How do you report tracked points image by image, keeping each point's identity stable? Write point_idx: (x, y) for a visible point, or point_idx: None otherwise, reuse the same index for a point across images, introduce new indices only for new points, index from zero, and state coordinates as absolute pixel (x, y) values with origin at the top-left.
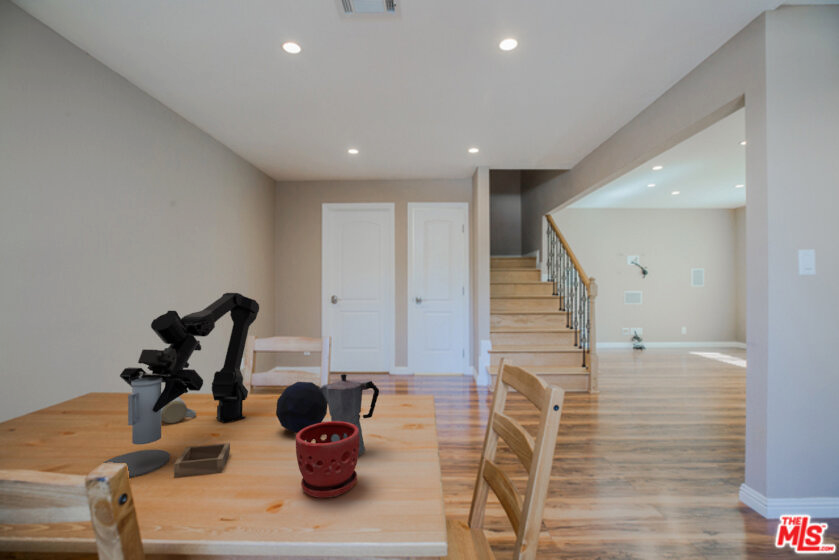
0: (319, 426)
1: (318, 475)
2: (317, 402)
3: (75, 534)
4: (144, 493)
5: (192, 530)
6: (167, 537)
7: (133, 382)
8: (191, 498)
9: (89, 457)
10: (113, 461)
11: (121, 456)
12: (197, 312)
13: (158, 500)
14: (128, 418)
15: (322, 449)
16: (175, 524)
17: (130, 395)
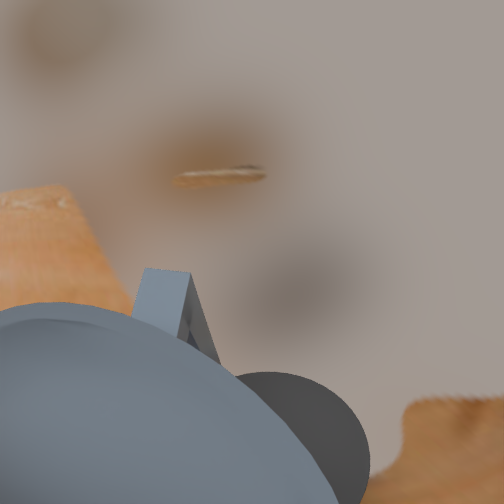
0: None
1: None
2: None
3: (173, 181)
4: (125, 302)
5: (23, 202)
6: (47, 187)
7: (210, 400)
8: (32, 280)
9: (449, 484)
10: (344, 464)
11: (347, 499)
12: None
13: (84, 274)
14: (216, 354)
15: None
16: (42, 210)
17: (163, 273)
